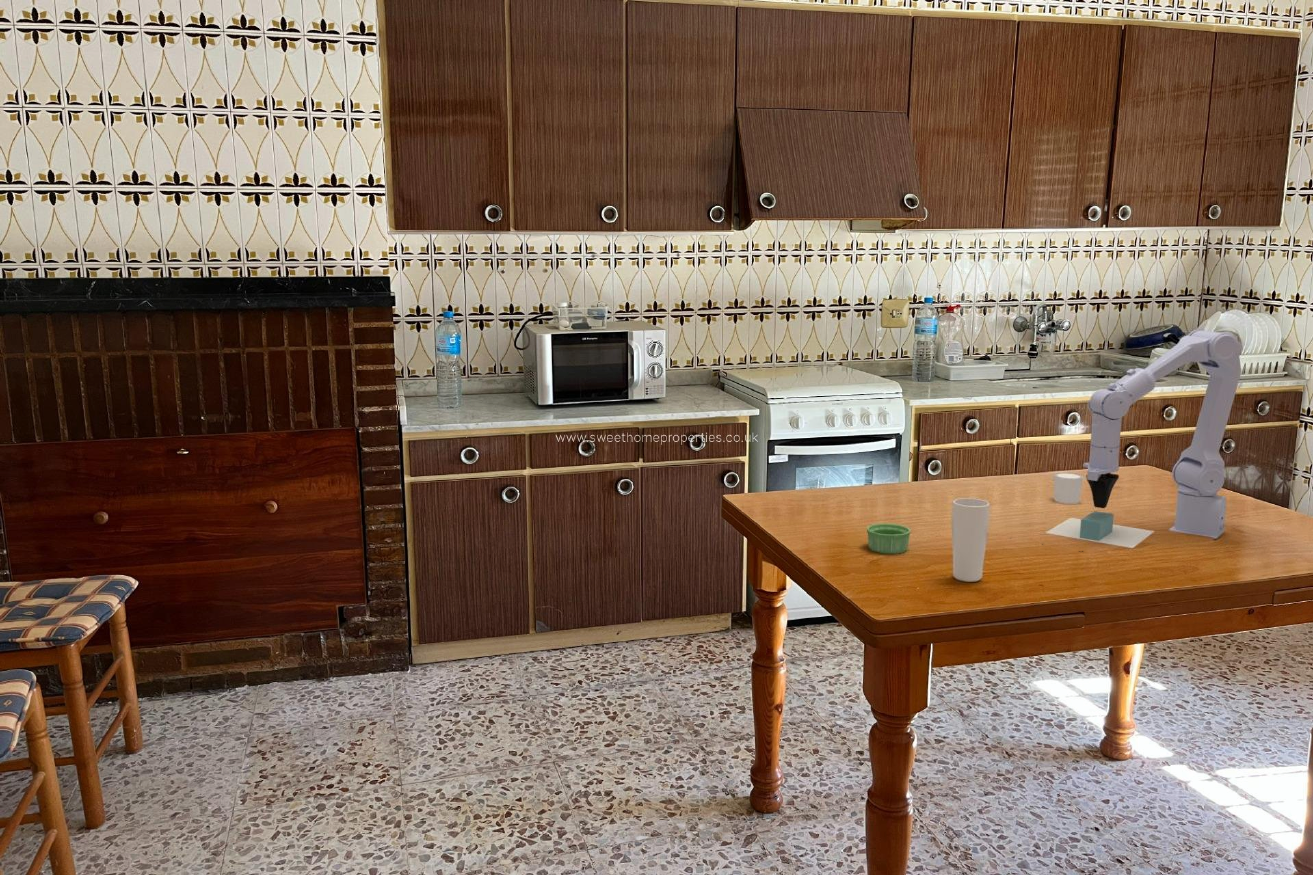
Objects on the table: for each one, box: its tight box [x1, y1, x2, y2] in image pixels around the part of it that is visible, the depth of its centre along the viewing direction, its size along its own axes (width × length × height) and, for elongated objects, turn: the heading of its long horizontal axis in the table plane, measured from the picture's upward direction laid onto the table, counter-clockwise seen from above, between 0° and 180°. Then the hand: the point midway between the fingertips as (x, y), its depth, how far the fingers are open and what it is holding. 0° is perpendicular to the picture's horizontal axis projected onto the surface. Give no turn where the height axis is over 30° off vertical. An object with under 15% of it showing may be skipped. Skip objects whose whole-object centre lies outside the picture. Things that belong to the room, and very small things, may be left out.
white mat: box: [1045, 517, 1155, 549], centre depth 221 cm, size 18×16×1 cm
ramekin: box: [866, 523, 912, 555], centre depth 212 cm, size 9×9×4 cm
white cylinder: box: [1053, 472, 1085, 505], centre depth 247 cm, size 7×7×7 cm
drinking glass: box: [951, 497, 990, 583], centre depth 192 cm, size 7×7×15 cm
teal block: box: [1080, 510, 1115, 541], centre depth 219 cm, size 4×4×9 cm
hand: (1100, 507), depth 219 cm, fingers closed
